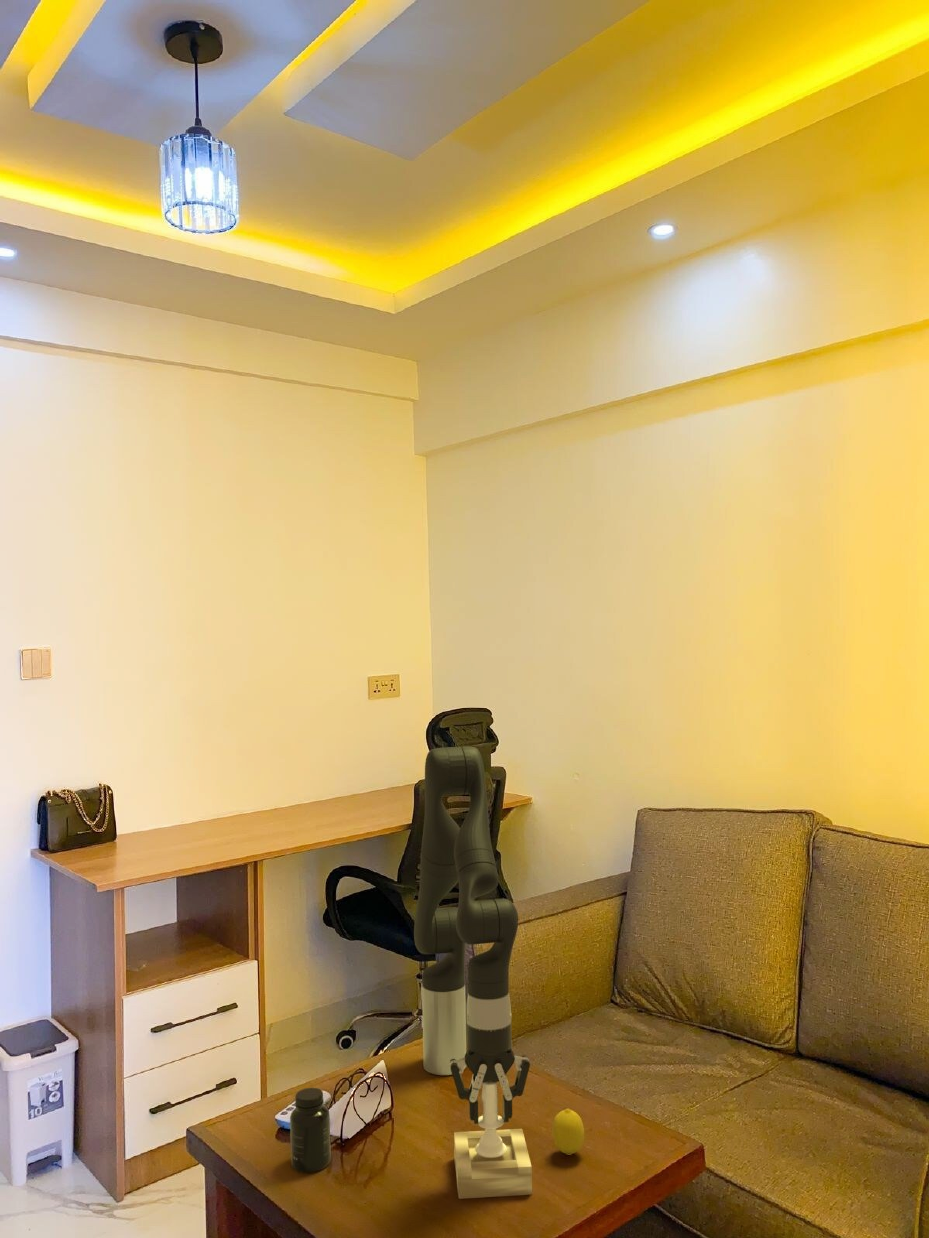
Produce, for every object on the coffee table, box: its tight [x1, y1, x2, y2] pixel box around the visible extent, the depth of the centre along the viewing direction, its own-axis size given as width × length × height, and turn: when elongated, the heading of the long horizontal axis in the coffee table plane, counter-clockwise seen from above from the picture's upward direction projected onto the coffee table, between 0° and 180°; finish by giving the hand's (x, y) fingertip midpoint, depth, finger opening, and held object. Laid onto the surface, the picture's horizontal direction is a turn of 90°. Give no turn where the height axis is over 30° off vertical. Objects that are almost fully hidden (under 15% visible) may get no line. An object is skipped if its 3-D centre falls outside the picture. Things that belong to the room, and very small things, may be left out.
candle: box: [475, 1081, 507, 1158], centre depth 159 cm, size 5×5×12 cm
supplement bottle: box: [289, 1087, 332, 1174], centre depth 164 cm, size 7×7×12 cm
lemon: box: [551, 1108, 585, 1156], centre depth 165 cm, size 6×6×8 cm
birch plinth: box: [453, 1128, 533, 1200], centre depth 159 cm, size 12×12×4 cm
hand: (490, 1120), depth 160 cm, fingers closed on candle, 4 cm apart
